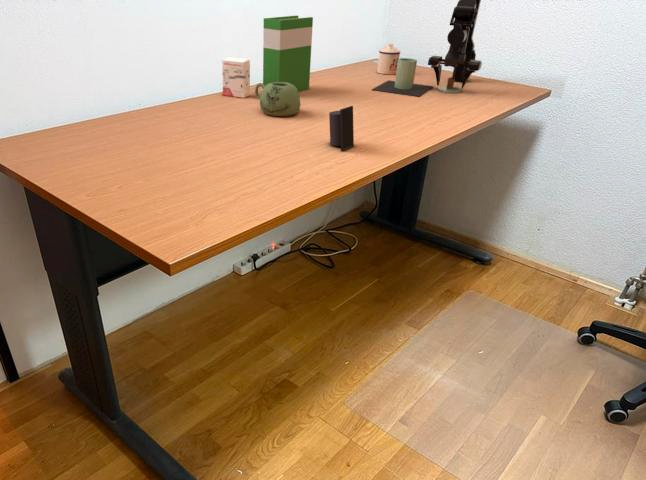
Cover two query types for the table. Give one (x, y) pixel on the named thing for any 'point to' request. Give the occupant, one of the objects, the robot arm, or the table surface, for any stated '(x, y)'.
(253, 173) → the table surface
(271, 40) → the hardback book
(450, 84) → the lid
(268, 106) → the mug
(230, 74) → the ink box
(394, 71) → the teacup with lid
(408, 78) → the canister
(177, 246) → the table surface
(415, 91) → the mat
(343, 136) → the speaker
